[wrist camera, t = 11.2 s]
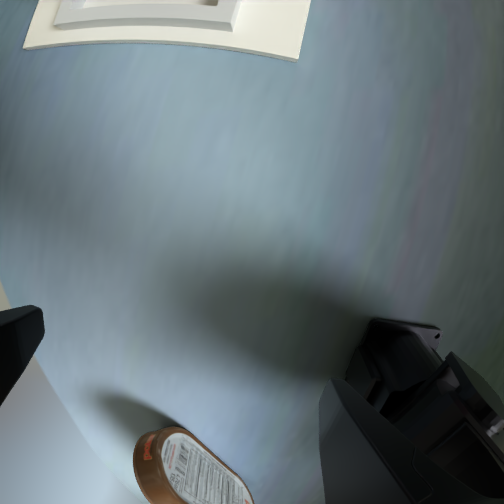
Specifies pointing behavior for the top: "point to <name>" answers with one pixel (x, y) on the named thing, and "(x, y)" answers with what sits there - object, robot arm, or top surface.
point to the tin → (184, 471)
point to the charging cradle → (174, 24)
